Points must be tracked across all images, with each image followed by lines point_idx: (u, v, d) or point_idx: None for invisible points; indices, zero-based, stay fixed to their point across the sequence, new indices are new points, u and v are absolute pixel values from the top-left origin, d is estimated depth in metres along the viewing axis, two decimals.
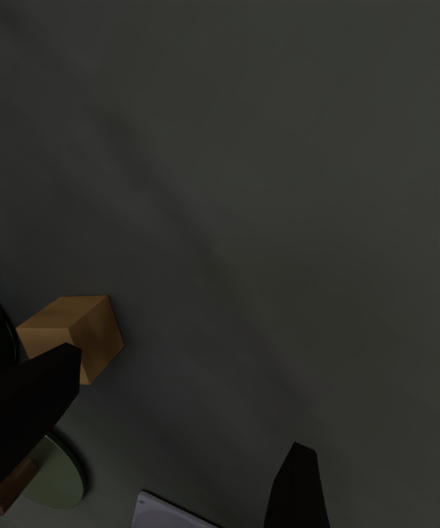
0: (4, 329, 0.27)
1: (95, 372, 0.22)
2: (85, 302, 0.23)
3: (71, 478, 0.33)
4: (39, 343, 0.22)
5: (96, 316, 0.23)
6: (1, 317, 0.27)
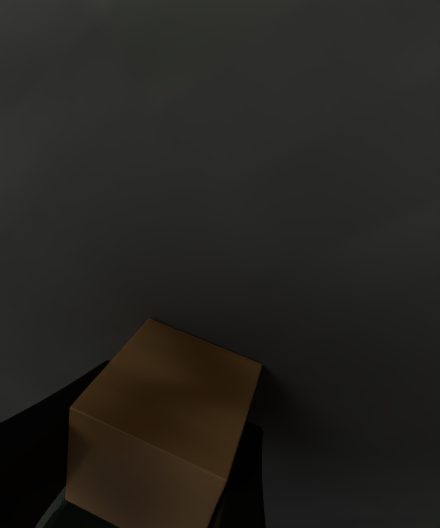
0: None
1: (222, 446, 0.08)
2: None
3: None
4: (100, 488, 0.09)
5: (143, 354, 0.10)
6: None
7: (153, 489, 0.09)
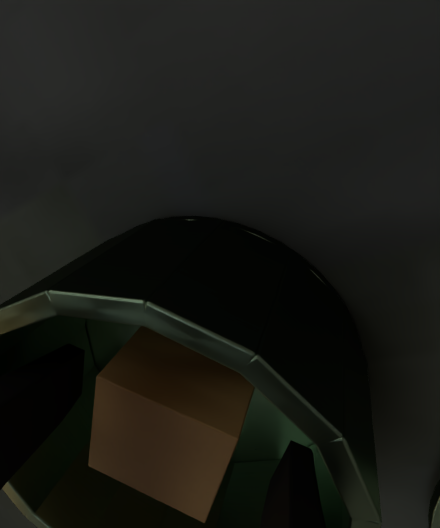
0: (244, 234, 0.11)
1: (234, 411, 0.09)
2: None
3: None
4: (121, 453, 0.10)
5: (158, 333, 0.11)
6: (217, 221, 0.11)
7: (171, 450, 0.10)
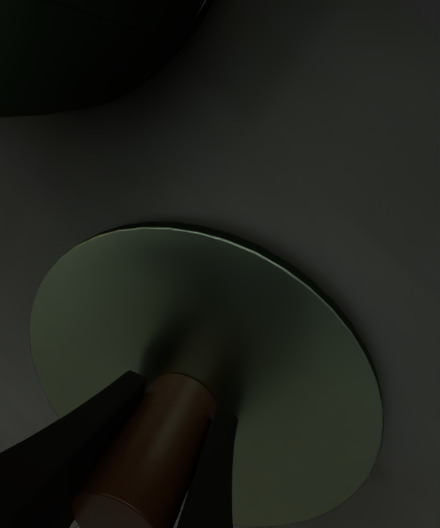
0: None
1: None
2: None
3: (340, 437, 0.10)
4: None
5: None
6: None
7: None
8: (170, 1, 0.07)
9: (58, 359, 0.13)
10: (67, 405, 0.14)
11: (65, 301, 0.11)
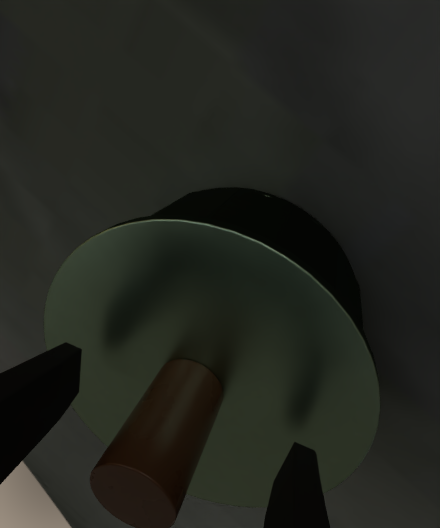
0: None
1: None
2: None
3: (339, 418, 0.11)
4: None
5: None
6: (357, 284, 0.15)
7: None
8: None
9: None
10: (79, 392, 0.14)
11: (79, 291, 0.12)
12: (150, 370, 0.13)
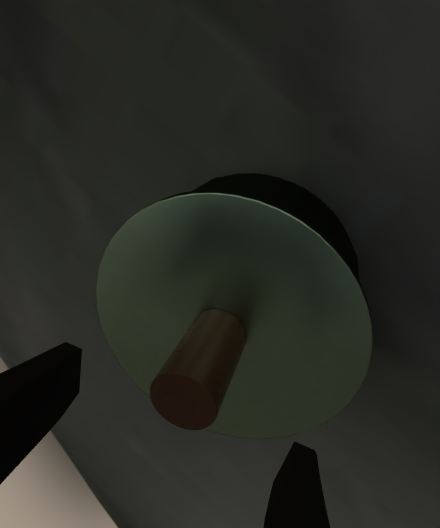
0: None
1: None
2: None
3: (340, 352, 0.14)
4: None
5: None
6: (355, 254, 0.18)
7: None
8: None
9: (118, 304, 0.16)
10: (122, 343, 0.17)
11: (129, 254, 0.15)
12: (185, 320, 0.15)
